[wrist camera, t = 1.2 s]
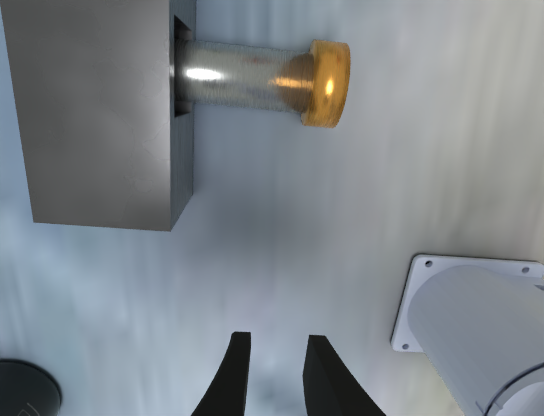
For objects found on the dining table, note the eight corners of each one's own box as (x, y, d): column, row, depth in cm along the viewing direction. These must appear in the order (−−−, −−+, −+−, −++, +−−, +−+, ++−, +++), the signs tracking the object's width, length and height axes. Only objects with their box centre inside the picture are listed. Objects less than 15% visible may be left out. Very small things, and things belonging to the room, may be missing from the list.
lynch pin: (334, 48, 18) (356, 37, 14) (324, 124, 19) (340, 132, 15) (94, 21, 17) (48, 1, 13) (100, 103, 18) (60, 106, 14)
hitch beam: (197, -81, 16) (167, -168, 11) (192, 194, 21) (170, 231, 15) (68, -99, 16) (-31, -199, 10) (93, 186, 20) (33, 222, 15)
